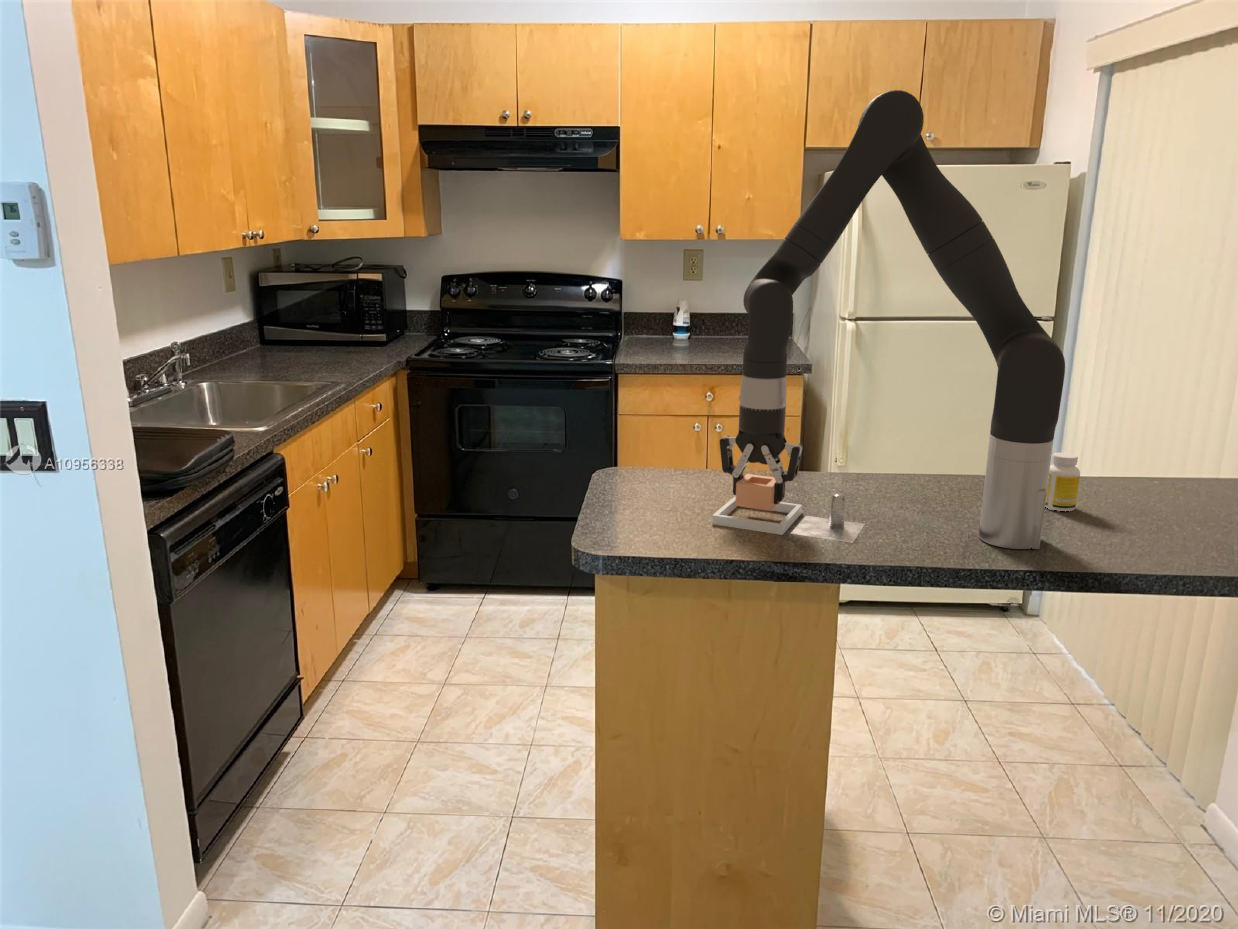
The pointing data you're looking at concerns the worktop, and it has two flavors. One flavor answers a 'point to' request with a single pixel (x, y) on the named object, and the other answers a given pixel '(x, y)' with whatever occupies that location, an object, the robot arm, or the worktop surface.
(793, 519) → the tray
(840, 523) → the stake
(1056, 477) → the supplement bottle
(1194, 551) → the worktop surface
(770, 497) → the ring
